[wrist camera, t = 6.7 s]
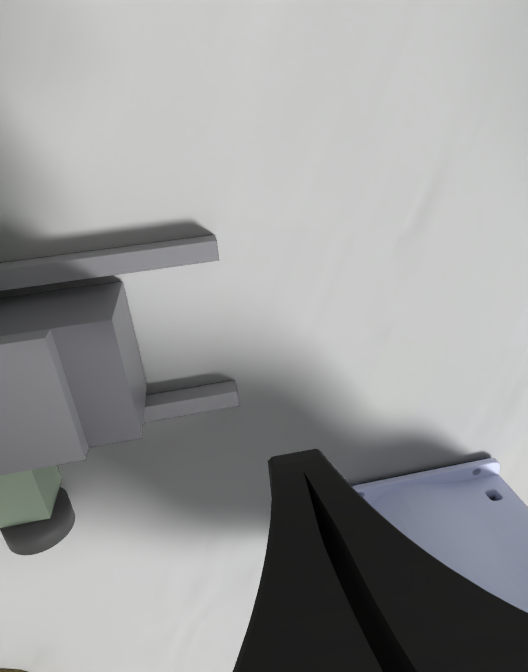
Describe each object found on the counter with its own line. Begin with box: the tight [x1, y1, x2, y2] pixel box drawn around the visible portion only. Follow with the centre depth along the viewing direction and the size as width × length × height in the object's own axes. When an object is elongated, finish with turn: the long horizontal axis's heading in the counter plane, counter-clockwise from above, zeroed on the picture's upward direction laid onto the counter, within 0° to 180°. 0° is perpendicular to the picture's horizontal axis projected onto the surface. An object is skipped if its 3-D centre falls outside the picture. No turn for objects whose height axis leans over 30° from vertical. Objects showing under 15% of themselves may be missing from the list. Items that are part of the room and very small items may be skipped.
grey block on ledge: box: [0, 281, 147, 476], centre depth 18 cm, size 5×5×5 cm
